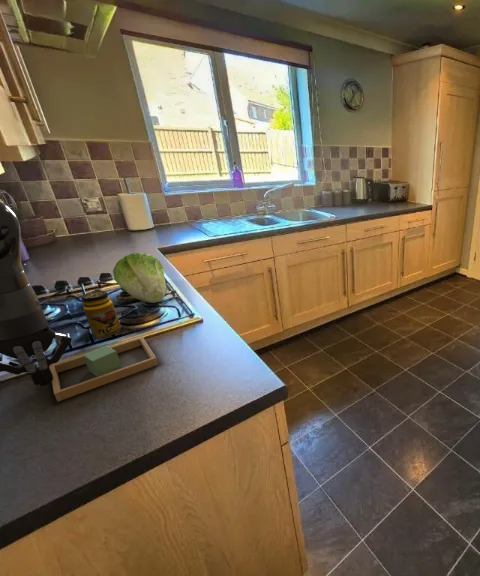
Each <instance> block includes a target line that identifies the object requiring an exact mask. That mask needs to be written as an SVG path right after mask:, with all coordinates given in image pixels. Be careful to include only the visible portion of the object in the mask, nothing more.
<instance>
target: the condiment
mask: <svg viewBox="0 0 480 576" xmlns="http://www.w3.org/2000/svg"><path fill="white" fill-rule="evenodd" d="M81 300H82V304H83V306H82V307H83V308H82V309H83V311H84V315H85V317H86V319H87V322H88V324H89V327H90V330H91V332H92V335H93V336H94V337H96V338H107V337H111V336H113V335H116V334H118V333H119V332H120V331H121V328H122V326H121V323H120V320H119V316H118V314H117V311H116V307H115V305H114V303H113V301H112V300H111V298H110V296H109V294H108V292H107V291H105V290H94V291H90V292H87V293H85V294H83V295H82V296H81Z"/></svg>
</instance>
